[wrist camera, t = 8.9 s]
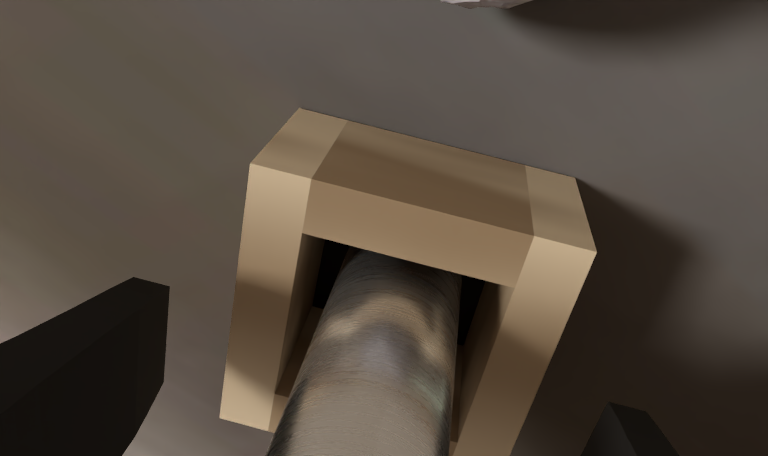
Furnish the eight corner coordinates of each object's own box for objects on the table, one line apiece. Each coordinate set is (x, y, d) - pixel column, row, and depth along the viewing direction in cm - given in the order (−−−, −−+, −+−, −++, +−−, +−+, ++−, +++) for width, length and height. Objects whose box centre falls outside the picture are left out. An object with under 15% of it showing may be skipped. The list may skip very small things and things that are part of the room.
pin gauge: (481, 222, 14) (470, 580, 6) (440, 310, 15) (395, 697, 8) (372, 182, 13) (242, 500, 6) (340, 274, 15) (199, 630, 8)
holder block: (493, 389, 15) (493, 491, 13) (265, 328, 16) (219, 417, 13) (575, 177, 13) (597, 252, 10) (299, 108, 13) (250, 163, 10)
